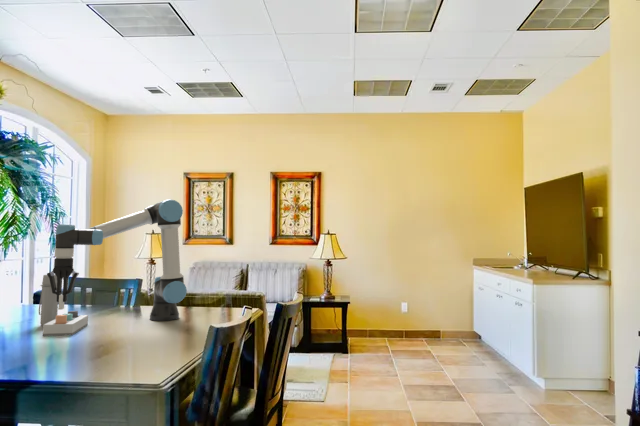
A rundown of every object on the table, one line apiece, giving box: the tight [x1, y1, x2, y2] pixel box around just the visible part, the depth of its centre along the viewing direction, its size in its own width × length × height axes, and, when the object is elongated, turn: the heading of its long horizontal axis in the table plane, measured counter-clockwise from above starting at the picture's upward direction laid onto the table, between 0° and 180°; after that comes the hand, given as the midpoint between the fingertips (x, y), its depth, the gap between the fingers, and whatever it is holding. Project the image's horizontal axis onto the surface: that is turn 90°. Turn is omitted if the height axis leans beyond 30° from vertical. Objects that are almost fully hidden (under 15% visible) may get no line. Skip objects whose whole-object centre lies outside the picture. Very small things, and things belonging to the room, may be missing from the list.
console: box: [42, 314, 89, 337], centre depth 204 cm, size 12×22×5 cm, turn 12°
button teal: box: [61, 313, 73, 321], centre depth 204 cm, size 4×4×5 cm
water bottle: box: [38, 274, 59, 327], centre depth 216 cm, size 9×8×25 cm
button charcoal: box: [67, 310, 79, 318], centre depth 212 cm, size 4×4×5 cm
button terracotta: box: [55, 314, 67, 324], centre depth 197 cm, size 4×4×5 cm
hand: (61, 309), depth 197 cm, fingers closed
